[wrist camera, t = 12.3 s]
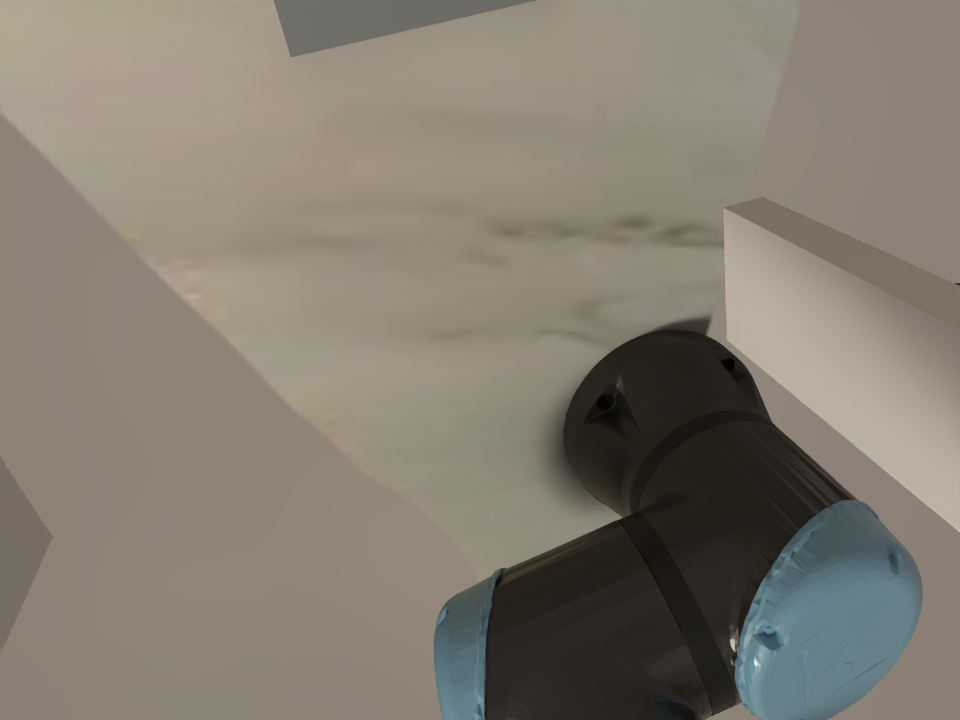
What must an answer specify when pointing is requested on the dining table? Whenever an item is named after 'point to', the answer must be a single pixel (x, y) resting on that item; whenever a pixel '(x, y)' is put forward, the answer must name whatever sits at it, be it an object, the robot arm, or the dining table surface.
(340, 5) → the board
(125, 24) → the dining table surface
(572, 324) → the dining table surface
